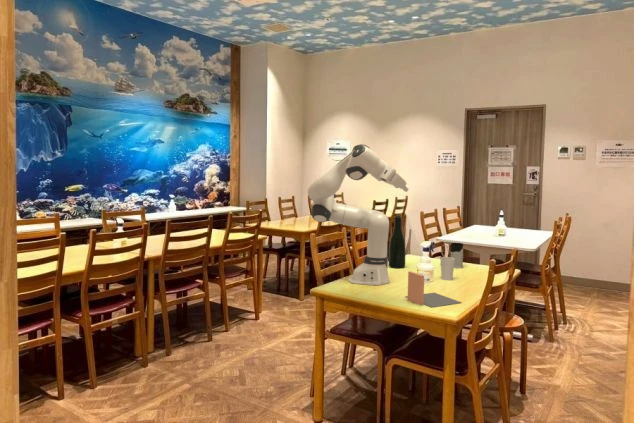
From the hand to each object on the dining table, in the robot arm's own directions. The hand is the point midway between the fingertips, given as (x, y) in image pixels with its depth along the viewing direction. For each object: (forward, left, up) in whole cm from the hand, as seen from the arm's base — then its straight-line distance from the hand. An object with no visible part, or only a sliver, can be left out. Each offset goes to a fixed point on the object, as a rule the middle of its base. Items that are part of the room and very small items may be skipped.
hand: (402, 188), depth 237 cm
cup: (+29, +48, -54) cm, 78 cm away
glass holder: (+37, +84, -54) cm, 106 cm away
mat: (+16, +2, -54) cm, 56 cm away
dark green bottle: (+2, +78, -54) cm, 95 cm away
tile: (+7, -4, -54) cm, 54 cm away
